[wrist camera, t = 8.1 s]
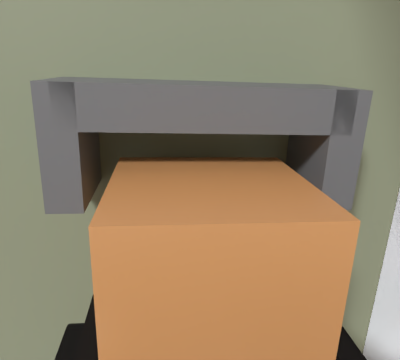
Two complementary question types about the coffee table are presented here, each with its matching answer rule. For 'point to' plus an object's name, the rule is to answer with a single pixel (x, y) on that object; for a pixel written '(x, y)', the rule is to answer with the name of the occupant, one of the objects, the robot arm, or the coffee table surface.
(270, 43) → the green bracket base plate
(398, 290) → the coffee table surface
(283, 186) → the tall tan rectangular prism
